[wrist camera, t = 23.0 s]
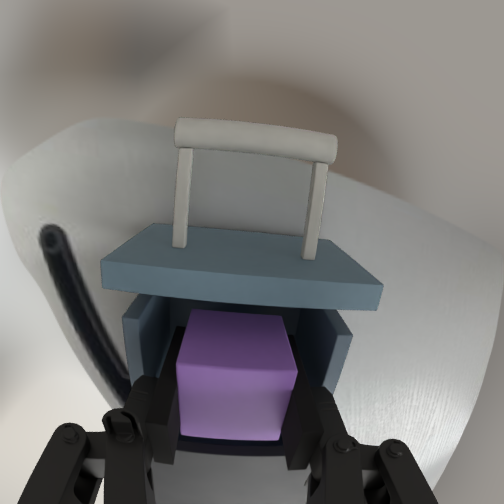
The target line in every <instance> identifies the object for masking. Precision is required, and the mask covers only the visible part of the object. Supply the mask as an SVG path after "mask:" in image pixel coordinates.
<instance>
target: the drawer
mask: <svg viewBox="0 0 504 504" xmlns="http://www.w3.org/2000/svg"><path fill="white" fill-rule="evenodd" d="M174 144H175V147H176V148H179V153H178V163H177V174H176V186H175V200H174V216H173V225H168V224H155V223H153V224H152V225H150V226H149V227H147V228H146V229H144V230H143V231H141V232H140V233H138V234H137V235H136V236H134V237H133V238H131V239H130V240H128V241H127V242H125V243H124V244H123V245H121V246H120V247H118V248H117V249H116V250H114V251H113V252H111V253H110V254H109V255H107V256H106V257H105V258H103V259H102V260H101V277H102V288H105V289H112V290H119V291H126V292H133V293H139V294H138V296H137V297H136V298H135V300H134V301H133V302H132V304H131V305H130V307H129V308H128V309H127V311H126V312H125V314H124V315H123V316H122V324H123V333H124V341H125V349H126V356H127V363H128V369H129V375H130V381H131V386H133V384H134V381H136V380H137V379H138V378H139V377H140V376H141V375H145V376H151V377H157V378H159V376H160V373H161V370H162V367H163V364H164V361H165V358H166V355H167V352H168V349H169V346H170V343H171V340H172V337H173V334H174V332H175V329H176V326H183V327H187V323H188V320H189V316H190V313H191V310H192V309H201V310H211V311H222V312H234V313H247V314H261V315H277V316H282V320H283V323H284V326H285V330H286V333H287V335H294V338H295V341H296V344H297V347H298V350H299V353H300V357H301V360H302V363H303V366H304V369H305V372H306V375H307V378H308V381H309V384H310V387H323V386H325V387H326V388H327V389H328V390H329V391H330V392H331V393H332V395H333V393H334V391H335V388H336V385H337V382H338V380H339V377H340V374H341V371H342V368H343V365H344V362H345V359H346V356H347V353H348V350H349V347H350V343H351V340H352V337H353V334H352V333H351V331H350V330H349V328H348V327H347V325H346V324H345V322H344V320H343V319H342V317H341V316H340V314H339V313H338V311H337V310H372V311H376V310H377V308H378V305H379V301H380V298H381V294H382V290H383V286H384V285H383V284H382V283H381V282H380V281H378V280H377V279H376V278H375V277H374V276H373V275H371V274H370V273H369V272H368V271H367V270H365V269H364V268H363V267H362V266H361V265H360V264H358V263H357V262H356V261H355V260H354V259H352V258H351V257H350V256H349V255H347V254H346V253H345V252H344V251H343V250H341V249H340V248H339V247H338V246H336V245H335V244H334V243H333V242H332V241H330V240H325V239H318V236H319V230H320V223H321V217H322V210H323V203H324V196H325V188H326V181H327V173H328V164H332V163H333V162H334V160H335V158H336V154H337V147H338V146H337V145H338V143H337V138H336V136H335V135H331V134H326V133H320V132H315V131H310V130H304V129H297V128H292V127H285V126H278V125H270V124H263V123H254V122H244V121H233V120H221V119H206V118H185V117H179V118H178V119H177V121H176V124H175V130H174ZM194 149H208V150H221V151H233V152H243V153H253V154H262V155H270V156H278V157H285V158H293V159H299V160H306V161H312V162H314V163H313V168H312V176H311V184H310V192H309V199H308V207H307V214H306V221H305V228H304V235H303V237H297V236H288V235H278V234H268V233H258V232H247V231H237V230H226V229H215V228H203V227H192V226H188V212H189V199H190V186H191V175H192V164H193V154H194ZM178 440H182V441H190V442H198V443H209V444H221V445H239V446H283V440H282V434H281V433H280V437H279V440H231V439H216V438H204V437H195V436H186V435H181V432H180V429H179V435H178Z"/></svg>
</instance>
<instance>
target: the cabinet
mask: <svg viewBox="0 0 504 504" xmlns="http://www.w3.org/2000/svg"><path fill="white" fill-rule="evenodd" d="M151 468H152V472H153V483H154V493H155V501H156V504H306V502H307V490H308V485H307V486H304V484H305V482H306V480H307V478H308V476H309V474H310V473H311V467H310V463H309V465H308V467H307V469H305V470H291V471H288V469H287V464H286V458H285V452H284V446H239V445H221V444H209V443H198V442H190V441H182V440H177V446H176V452H175V458H174V464H173V465H169V464H162V463H157V462H154V459H152V463H151Z"/></svg>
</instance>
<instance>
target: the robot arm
mask: <svg viewBox="0 0 504 504" xmlns="http://www.w3.org/2000/svg"><path fill="white" fill-rule="evenodd" d="M185 330H186V327H183V326H176V329H175V332H174V334H173V337H172V340H171V343H170V346H169V349H168V352H167V355H166V358H165V361H164V364H163V367H162V370H161V373H160V376H159V378H157V377H151V376H145V375H141V376H140V377H139V378H138V379H137V380H136V381H134V384H133V386H132V388H131V391H130V393H129V396H128V398H127V401H126V403H125V406H124V408H117V409H112V410H110V411H108V412H107V413H106V414H105V415H104V416H103V419H102V422H103V425H104V428H105V431H104V432H86V431H85V430H84V429H83V428H82V427H81V426H80V425H78V424H75V423H64V424H62V425H60V426H59V427H58V428H57V429H56V430H55V432H54V433H53V435H52V437H51V439H50V441H49V442H48V444H47V446H46V448H45V449H44V451H43V453H42V455H41V457H40V459H39V461H38V463H37V465H36V466H35V469H34V470H33V473H32V474H31V476H30V478H29V480H28V482H27V484H26V486H25V488H24V490H23V493H22V495H21V497H20V499H19V501H18V503H17V504H94V503H95V500H96V497H97V494H98V491H99V488H100V485H101V482H102V479H103V478H104V504H156V501H155V493H154V483H153V472H152V468H151V463H152V459H154V462H157V463H162V464H169V465H173V464H174V458H175V452H176V446H177V440H178V435H179V429H180V415H179V402H178V386H177V375H176V362H177V358H178V355H179V351H180V347H181V344H182V340H183V337H184V333H185ZM287 336H288V340H289V343H290V347H291V350H292V354H293V357H294V360H295V364H296V367H297V371H298V373H297V376H296V380H295V384H294V388H293V390H292V394H291V397H290V401H289V404H288V408H287V412H286V415H285V419H284V422H283V425H282V429H281V434H282V440H283V446H284V452H285V458H286V464H287V469H288V471H291V470H305V469H307V467H308V465H309V463H310V467H311V473H310V474H309V476H308V478H307V480H306V482H305V484H304V486H307V485H308V490H307V502H306V504H438V502H437V500H436V498H435V496H434V494H433V492H432V490H431V488H430V487H429V485H428V483H427V481H426V479H425V477H424V475H423V473H422V472H421V470H420V468H419V466H418V464H417V462H416V461H415V459H414V457H413V455H412V453H411V452H410V450H409V448H408V447H407V445H406V444H405V443H404V442H402V441H400V440H397V439H388V440H386V441H383V443H382V444H381V445H380V446H371V445H364V444H360V443H358V441H357V440H356V439H355V438H354V437H352V436H350V435H348V433H347V431H346V428H345V426H344V423H343V421H342V418H341V415H340V413H339V410H338V408H337V405H336V403H335V400H334V398H333V395H332V393H331V392H330V391H329V390H328V389H327V388H326V387H325V386H323V387H310V384H309V381H308V378H307V375H306V372H305V369H304V366H303V363H302V360H301V357H300V353H299V350H298V347H297V344H296V341H295V338H294V335H287Z"/></svg>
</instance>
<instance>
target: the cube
mask: <svg viewBox="0 0 504 504" xmlns="http://www.w3.org/2000/svg"><path fill="white" fill-rule="evenodd" d="M297 373H298V371H297V367H296V364H295V360H294V357H293V354H292V350H291V347H290V343H289V340H288V336H287V333H286V330H285V326H284V323H283V320H282V316H277V315H261V314H247V313H234V312H222V311H211V310H201V309H192V310H191V313H190V316H189V320H188V323H187V327H186V330H185V333H184V337H183V340H182V344H181V347H180V351H179V355H178V358H177V362H176V375H177V386H178V402H179V415H180V432H181V435H186V436H195V437H204V438H216V439H231V440H279V437H280V433H281V429H282V425H283V422H284V419H285V415H286V412H287V408H288V404H289V401H290V397H291V394H292V390H293V388H294V384H295V380H296V376H297Z"/></svg>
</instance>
